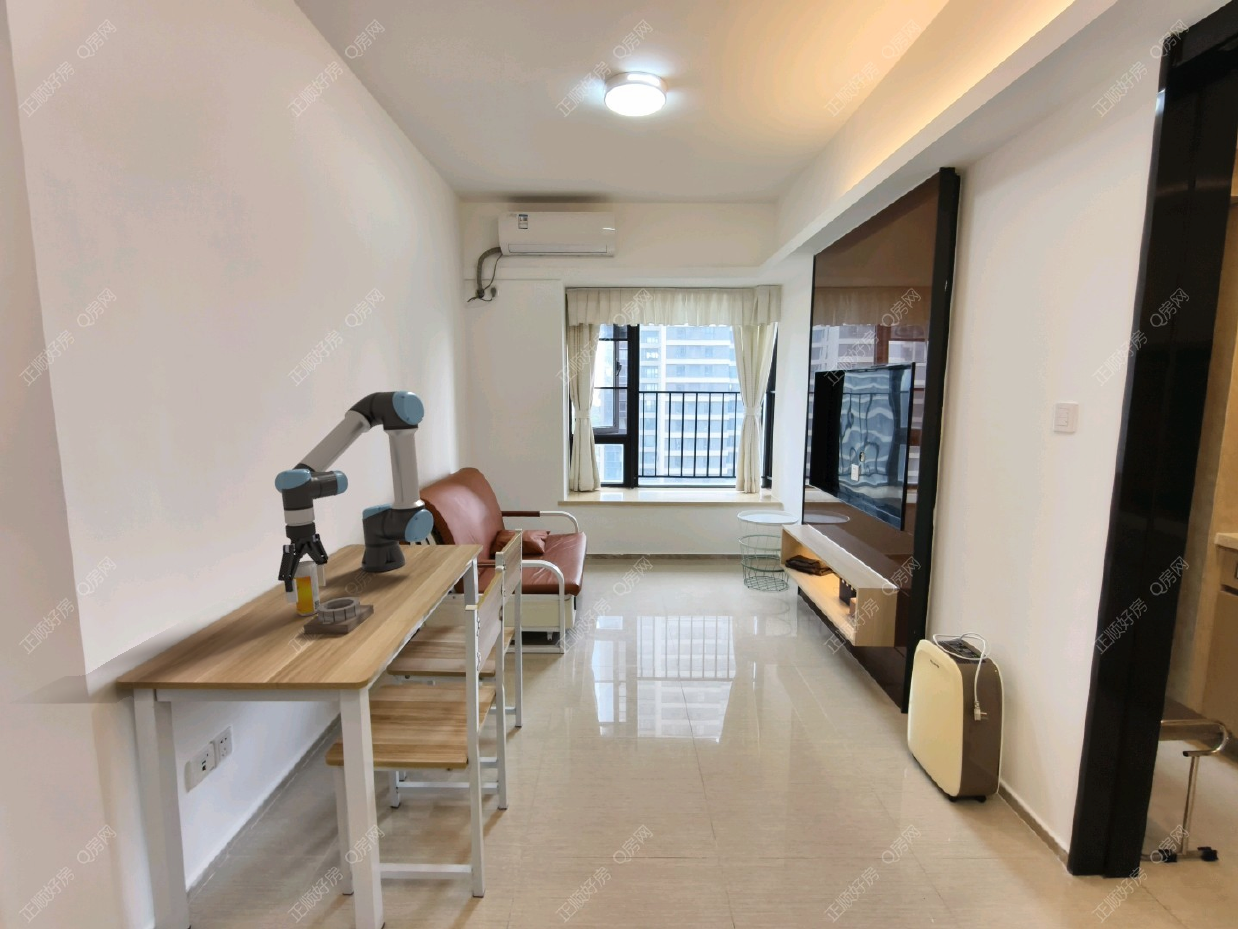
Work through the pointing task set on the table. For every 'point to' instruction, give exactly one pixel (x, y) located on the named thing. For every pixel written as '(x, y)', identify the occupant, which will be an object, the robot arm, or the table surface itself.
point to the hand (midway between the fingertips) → (307, 593)
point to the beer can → (307, 588)
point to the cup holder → (338, 616)
